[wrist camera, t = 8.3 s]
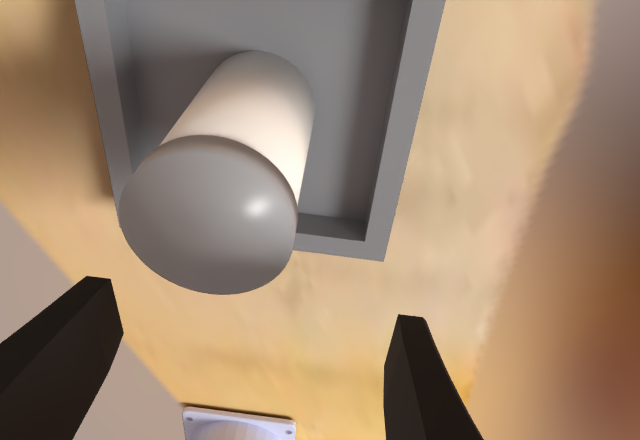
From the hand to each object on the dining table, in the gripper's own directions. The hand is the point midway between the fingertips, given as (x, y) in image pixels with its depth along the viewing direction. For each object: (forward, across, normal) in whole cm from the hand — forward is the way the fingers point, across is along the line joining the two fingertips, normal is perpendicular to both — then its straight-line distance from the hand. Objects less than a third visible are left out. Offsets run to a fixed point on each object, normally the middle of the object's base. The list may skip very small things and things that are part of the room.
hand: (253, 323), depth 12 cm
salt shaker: (+10, +2, -2) cm, 10 cm away
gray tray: (+10, +2, -2) cm, 11 cm away
